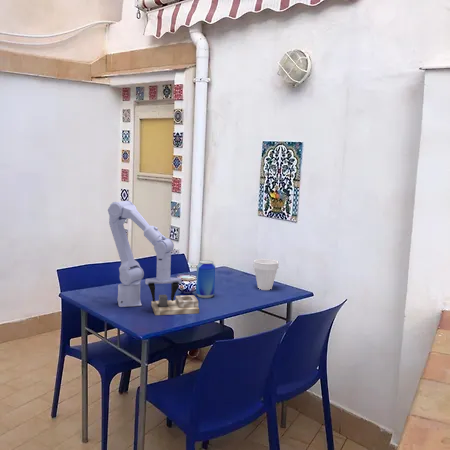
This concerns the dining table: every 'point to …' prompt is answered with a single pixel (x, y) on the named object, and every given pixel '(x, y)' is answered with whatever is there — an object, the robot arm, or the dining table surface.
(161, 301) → the plug
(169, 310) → the beige stepped block
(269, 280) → the cup
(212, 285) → the beer can
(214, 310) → the dining table surface
